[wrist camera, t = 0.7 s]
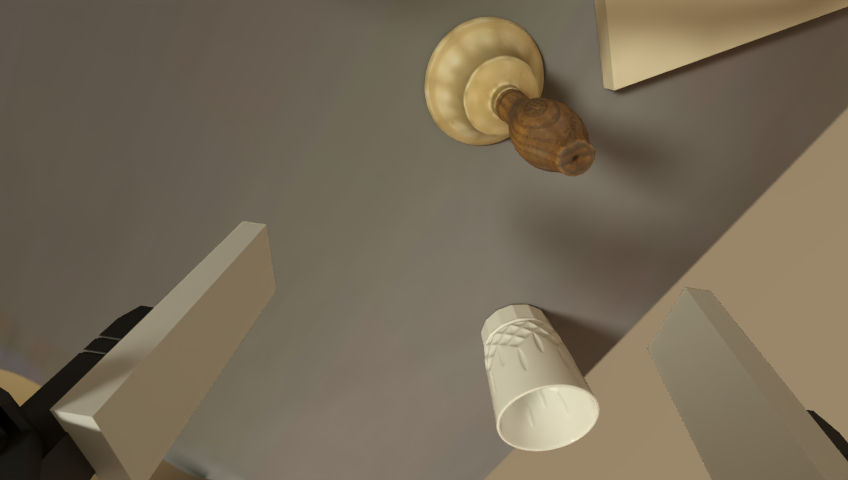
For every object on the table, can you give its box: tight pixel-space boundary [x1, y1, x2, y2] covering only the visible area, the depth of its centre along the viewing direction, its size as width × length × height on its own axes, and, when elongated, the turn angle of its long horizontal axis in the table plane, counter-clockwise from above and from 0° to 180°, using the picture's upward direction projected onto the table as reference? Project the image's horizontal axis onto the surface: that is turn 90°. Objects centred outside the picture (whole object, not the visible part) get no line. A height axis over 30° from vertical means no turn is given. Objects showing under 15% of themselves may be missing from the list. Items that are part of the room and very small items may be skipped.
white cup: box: [481, 304, 599, 451], centre depth 34 cm, size 8×8×10 cm
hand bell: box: [424, 17, 595, 176], centre depth 20 cm, size 8×8×16 cm
